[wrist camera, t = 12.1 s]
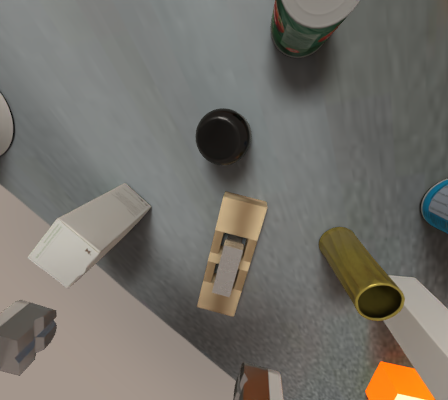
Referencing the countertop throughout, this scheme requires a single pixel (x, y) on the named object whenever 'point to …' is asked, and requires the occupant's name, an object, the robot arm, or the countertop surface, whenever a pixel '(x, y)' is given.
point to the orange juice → (397, 384)
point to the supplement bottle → (223, 136)
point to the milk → (423, 334)
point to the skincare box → (88, 234)
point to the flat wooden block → (229, 223)
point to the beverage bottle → (436, 206)
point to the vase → (361, 275)
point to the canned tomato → (307, 23)
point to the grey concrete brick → (228, 265)
